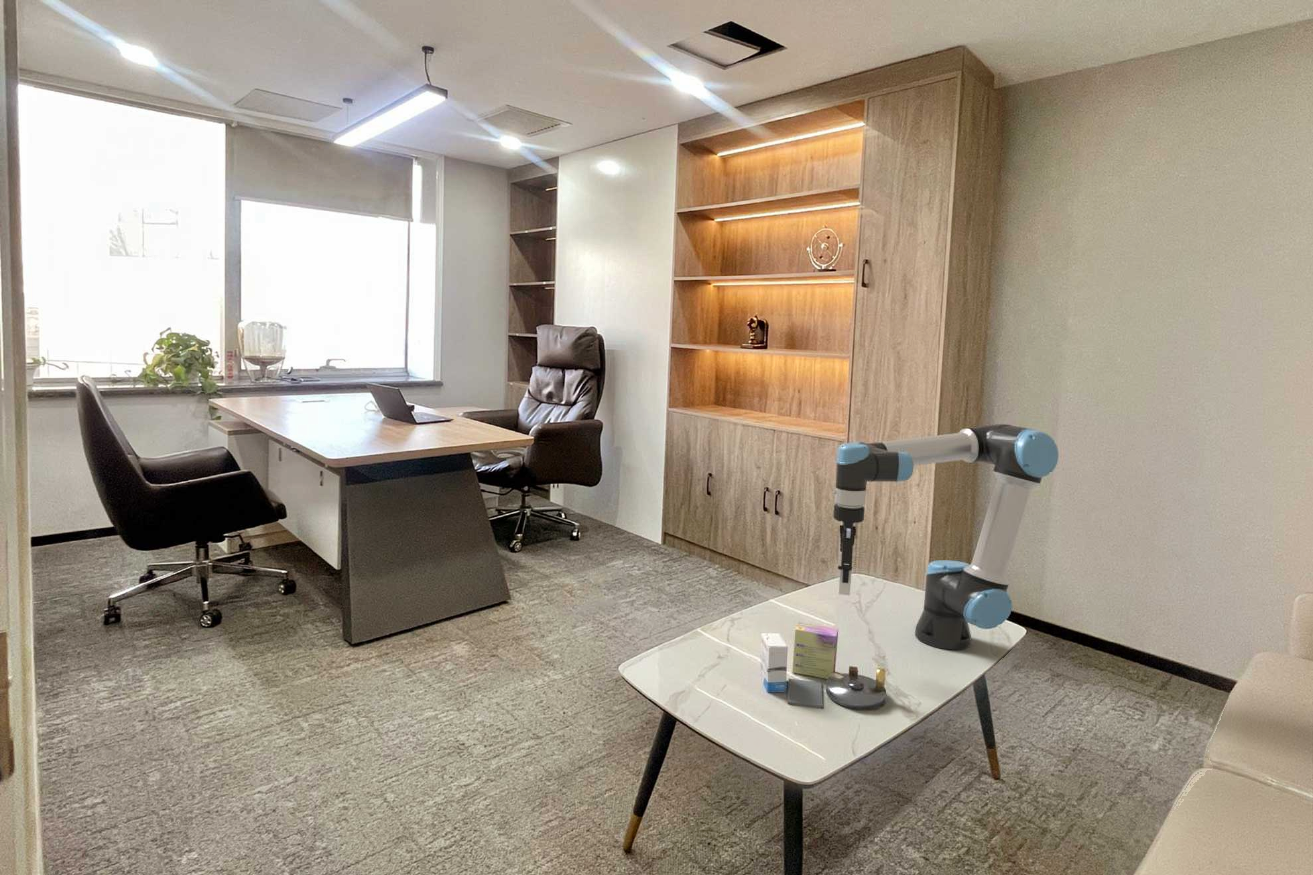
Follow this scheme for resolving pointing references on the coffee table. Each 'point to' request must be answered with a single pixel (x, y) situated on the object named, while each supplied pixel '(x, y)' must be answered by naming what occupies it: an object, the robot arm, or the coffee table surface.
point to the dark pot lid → (857, 690)
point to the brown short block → (853, 670)
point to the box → (815, 650)
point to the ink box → (773, 662)
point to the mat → (805, 693)
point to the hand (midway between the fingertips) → (843, 585)
